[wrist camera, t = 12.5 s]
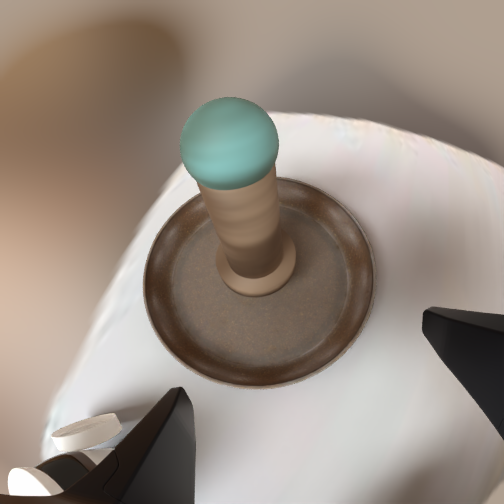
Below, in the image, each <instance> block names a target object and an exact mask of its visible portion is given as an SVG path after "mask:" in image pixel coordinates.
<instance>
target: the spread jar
mask: <svg viewBox="0 0 504 504" xmlns="http://www.w3.org/2000/svg"><path fill="white" fill-rule="evenodd" d="M121 430H122V426H121V424H120V422H119V420H118V418H117V416H116V415H115V414H114V413H109V414H103V415H99V416H95V417H91V418H88V419H85V420H81V421H78V422H76V423H73V424H70V425H68V426H65V427H63V428H61V429H59V430H57V431H55V432H54V433H53V434H52V435H51V437H52V439H53V441H54V442H55V444H56V446H57V448H58V450H60V451H62V452H67V453H64V454H60V455H57V456H54V457H52V458H50V459H47V460H45V461H43V462H41V463H40V464H38V465H36V466H35V467H34V468H14V469H12V470H11V471H10V473H9V476H8V488H9V493H10V495H18V496H51V495H56V494H59V493H61V492H64V491H65V490H67V489H68V488H69V487H71V486H72V485H73V484H74V483H76V482H77V481H78V480H80V479H81V478H82V477H83V476H85V475H86V474H87V473H88V472H90V471H91V470H92V469H93V468H94V467H95V466H97V465H98V464H99V463H100V462H101V461H102V460H103V459H104V458H105V457H106V456H107V455H108V454H109V453H110V452H111V451H112V450H113V449H112V448H100V449H90V450H83V449H87V448H90V447H93V446H96V445H99V444H101V443H103V442H105V441H107V440H109V439H111V438H113V437H114V436H116V435H117V434H118V433H120V431H121ZM114 450H115V449H114Z"/></svg>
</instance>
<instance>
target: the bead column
mask: <svg viewBox="0 0 504 504" xmlns="http://www.w3.org/2000/svg"><path fill="white" fill-rule="evenodd" d="M278 149H279V139H278V134H277V130H276V127H275V125H274V123H273V121H272V119H271V118H270V117H269V115H268V114H267V113H266V112H265V111H264V110H263V109H262V108H261V107H259V106H258V105H256V104H255V103H253V102H250V101H248V100H245V99H241V98H236V97H224V98H219V99H215V100H212V101H210V102H207V103H206V104H204V105H202V106H201V107H199V108H198V109H197V110H196V111H195V112H194V113H193V114H192V115H191V116H190V117H189V119H188V120H187V122H186V124H185V125H184V128H183V130H182V134H181V139H180V153H181V158H182V161H183V163H184V166H185V168H186V170H187V171H188V172H189V174H190V175H191V176H192V177H193V178H194V179H195V180H196V182H197V184H198V187H199V189H200V192H201V195H202V197H203V200H204V202H205V205H206V208H207V210H208V213H209V215H210V218H211V220H212V223H213V226H214V228H215V231H216V233H217V236H218V238H219V241H220V244H219V246H218V249H217V252H216V259H215V261H216V267H217V270H218V272H219V274H220V276H221V278H222V280H223V282H224V283H225V285H226V286H227V287H228V288H229V289H230V290H232V291H233V292H235V293H237V294H239V295H242V296H245V297H254V298H256V297H264V296H268V295H271V294H273V293H275V292H277V291H279V290H280V289H282V288H283V287H284V286H285V285H286V284H287V283H288V282H289V280H290V279H291V277H292V275H293V273H294V270H295V266H296V250H295V246H294V243H293V241H292V239H291V237H290V236H289V235H288V234H287V233H286V232H285V231H284V230H283V229H281V221H280V209H279V198H278V188H277V177H276V167H275V161H276V158H277V155H278Z"/></svg>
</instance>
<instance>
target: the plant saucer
mask: <svg viewBox="0 0 504 504" xmlns="http://www.w3.org/2000/svg"><path fill="white" fill-rule="evenodd" d="M277 188H278V198H279V209H280V221H281V229H283V230H284V231H285V232H286V233H287V234H288V235H289V236H290V237H291V239H292V241H293V243H294V246H295V250H296V266H295V270H294V273H293V275H292V277H291V279H290V280H289V282H288V283H287V284H286V285H285V286H284V287H283V288H282V289H280V290H279V291H277V292H275V293H273V294H271V295H268V296H264V297H256V298H254V297H245V296H242V295H239V294H237V293H235V292H233V291H232V290H230V289H229V288H228V287H227V286H226V285H225V283H224V282H223V280H222V278H221V276H220V274H219V272H218V270H217V267H216V261H215V259H216V252H217V249H218V246H219V244H220V241H219V238H218V236H217V233H216V231H215V228H214V226H213V223H212V220H211V218H210V215H209V213H208V210H207V208H206V205H205V202H204V200H203V197H202V195H201V192H200V193H199V194H197V195H195V196H194V197H192V198H191V199H189V200H188V201H187V202H186V203H184V204H183V205H182V206H181V207H179V208H178V209H177V210H176V211H175V212H174V213H173V214H172V215H171V216H170V218H169V219H168V220H167V221H166V222H165V224H164V225H163V226H162V228H161V229H160V231H159V232H158V234H157V236H156V238H155V239H154V241H153V243H152V246H151V248H150V251H149V254H148V257H147V260H146V264H145V269H144V276H143V297H144V304H145V308H146V312H147V315H148V318H149V321H150V323H151V326H152V328H153V330H154V332H155V334H156V336H157V337H158V339H159V340H160V342H161V343H162V345H163V346H164V347H165V349H166V350H167V351H168V352H169V353H170V354H171V355H172V356H173V357H174V358H175V359H176V360H177V361H178V362H179V363H181V364H182V365H183V366H184V367H186V368H187V369H189V370H190V371H192V372H193V373H195V374H197V375H199V376H201V377H203V378H205V379H207V380H209V381H212V382H215V383H217V384H221V385H224V386H228V387H234V388H240V389H255V390H257V389H273V388H279V387H284V386H288V385H292V384H295V383H298V382H301V381H303V380H306V379H308V378H310V377H312V376H314V375H316V374H318V373H320V372H321V371H323V370H325V369H326V368H328V367H329V366H331V365H332V364H333V363H334V362H336V361H337V360H338V359H339V358H340V357H341V356H343V354H344V353H345V352H346V351H347V350H348V349H349V348H350V347H351V346H352V345H353V343H354V342H355V341H356V339H357V338H358V337H359V335H360V333H361V332H362V330H363V328H364V326H365V324H366V322H367V320H368V318H369V316H370V313H371V309H372V306H373V302H374V298H375V291H376V266H375V260H374V256H373V252H372V248H371V246H370V243H369V241H368V239H367V236H366V234H365V232H364V230H363V229H362V227H361V226H360V224H359V223H358V221H357V220H356V219H355V217H354V216H353V215H352V214H351V213H350V212H349V211H348V209H347V208H345V207H344V206H343V205H342V204H341V203H340V202H339V201H337V200H336V199H335V198H333V197H332V196H330V195H329V194H327V193H326V192H324V191H322V190H320V189H318V188H316V187H314V186H312V185H309V184H306V183H304V182H301V181H297V180H293V179H289V178H282V177H277Z"/></svg>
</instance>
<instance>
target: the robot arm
mask: <svg viewBox="0 0 504 504" xmlns="http://www.w3.org/2000/svg"><path fill="white" fill-rule="evenodd" d="M422 331H423V334H424V336H425V337H426V338H427V340H428V341H429V343H430V344H431V345H432V347H433V348H434V350H435V351H436V353H437V354H438V356H439V357H440V358H441V360H442V361H443V362H444V364H445V365H446V366H447V367H448V368H449V370H450V371H451V372H452V373H453V374H454V375H455V377H456V378H457V379H458V380H459V381H460V383H461V384H462V385H463V386H464V388H465V389H466V390H467V391H468V393H469V394H470V395H471V396H472V398H473V399H474V400H475V401H476V403H477V404H478V405H479V407H480V408H481V409H482V411H483V412H484V413H485V415H486V416H487V417H488V419H489V420H490V421H491V423H492V424H493V425H494V427H495V428H496V430H497V431H498V433H499V434H500V435H501V437H502V438H503V440H504V315H501V314H492V313H482V312H474V311H465V310H457V309H449V308H441V307H430V308H428V309H426V310H425V311H424V312H423V322H422ZM195 457H196V438H195V427H194V414H193V406H192V403H191V401H190V399H189V397H188V395H187V394H186V392H185V390H184V389H183V388H182V387H176V388H171V389H170V390H169V391H168V392H167V393H166V394H165V395H164V396H163V397H162V398H161V400H160V401H159V402H158V403H157V404H156V405H155V406H154V407H153V408H152V409H151V410H150V411H149V413H148V414H147V415H146V416H145V417H144V418H143V419H142V420H141V421H140V422H139V423H138V424H137V425H136V426H135V427H134V428H133V429H132V431H131V432H130V433H129V434H128V435H127V436H126V437H125V438H124V439H123V440H122V441H121V442H120V443H119V444H118V445H117V446H116V447H115V450H114V449H113V450H112V451H111V452H110V453H109V454H108V455H107V456H106V457H105V458H104V459H103V460H102V461H101V462H100V463H99V464H98V465H97V466H95V467H94V468H93V469H92V470H91V471H90V472H88V473H87V474H86V475H85V476H83V477H82V478H81V479H80V480H78V481H77V482H76V483H74V484H73V485H72V486H71V487H69V488H68V489H67V490H65V491H64V492H61V493H59V494H56V495H51V496H18V495H4V494H0V504H194V498H195Z"/></svg>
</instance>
